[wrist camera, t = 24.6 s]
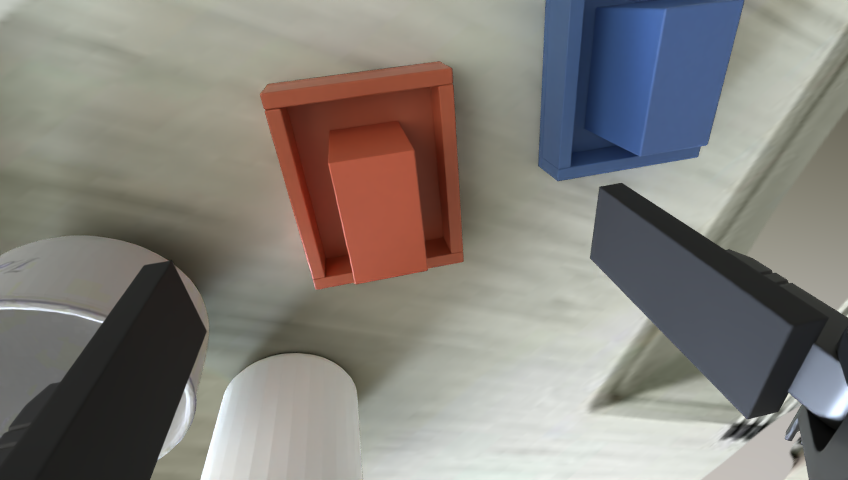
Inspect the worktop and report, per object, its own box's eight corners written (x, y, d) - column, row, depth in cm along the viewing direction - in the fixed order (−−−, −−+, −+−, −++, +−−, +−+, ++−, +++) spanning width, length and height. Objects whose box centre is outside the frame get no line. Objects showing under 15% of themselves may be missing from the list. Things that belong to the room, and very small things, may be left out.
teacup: (49, 168, 20) (-102, 257, 13) (263, 270, 24) (236, 374, 18) (-42, 361, 24) (-194, 508, 17) (158, 416, 28) (103, 548, 21)
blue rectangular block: (595, 7, 20) (665, 8, 16) (660, -1, 21) (746, -2, 16) (583, 129, 23) (639, 157, 19) (640, 120, 24) (708, 145, 19)
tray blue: (547, -47, 19) (574, -54, 17) (711, -65, 20) (755, -73, 18) (537, 166, 24) (557, 181, 22) (667, 144, 25) (698, 157, 23)
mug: (241, 339, 26) (202, 483, 18) (374, 362, 30) (390, 494, 22) (203, 458, 31) (159, 615, 23) (322, 467, 34) (320, 608, 26)
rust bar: (328, 130, 21) (327, 163, 16) (397, 120, 21) (414, 149, 17) (351, 234, 24) (355, 284, 20) (411, 223, 24) (428, 270, 20)
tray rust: (266, 83, 20) (259, 93, 18) (440, 60, 21) (452, 67, 18) (317, 265, 25) (315, 290, 23) (452, 240, 26) (463, 262, 24)
